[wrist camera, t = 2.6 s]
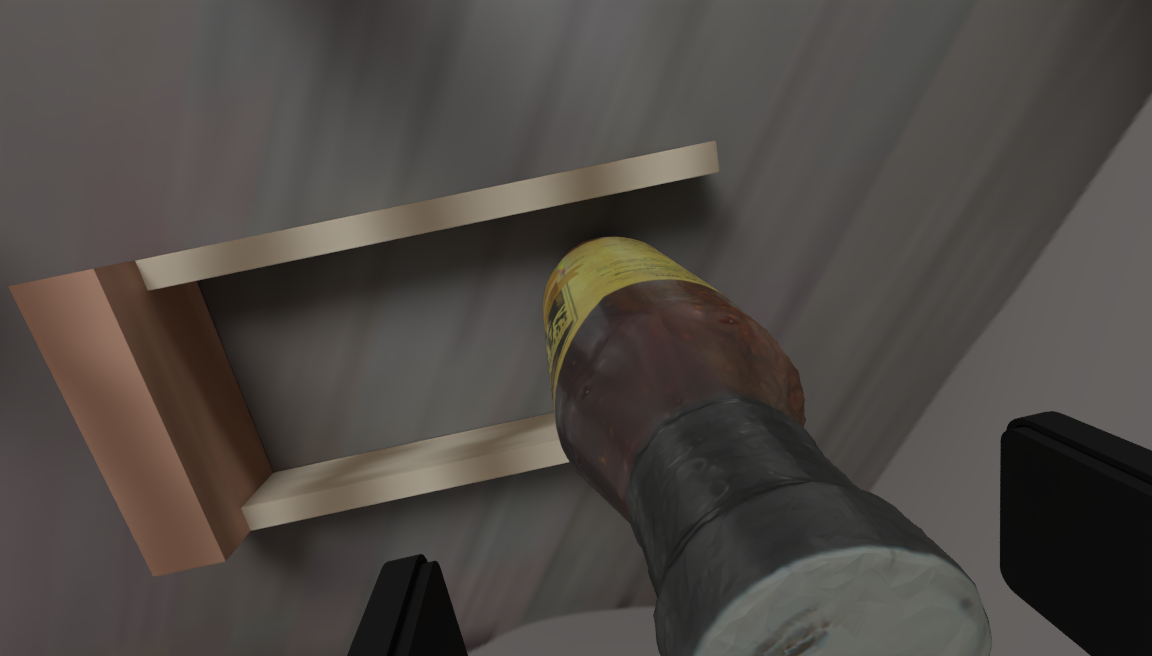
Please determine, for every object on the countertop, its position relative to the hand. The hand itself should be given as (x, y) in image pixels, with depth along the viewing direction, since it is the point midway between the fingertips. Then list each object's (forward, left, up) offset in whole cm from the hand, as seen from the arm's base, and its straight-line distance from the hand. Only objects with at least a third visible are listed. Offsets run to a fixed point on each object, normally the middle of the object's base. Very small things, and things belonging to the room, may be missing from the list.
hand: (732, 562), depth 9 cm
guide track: (+8, 0, -18) cm, 19 cm away
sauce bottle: (0, 0, -18) cm, 18 cm away
